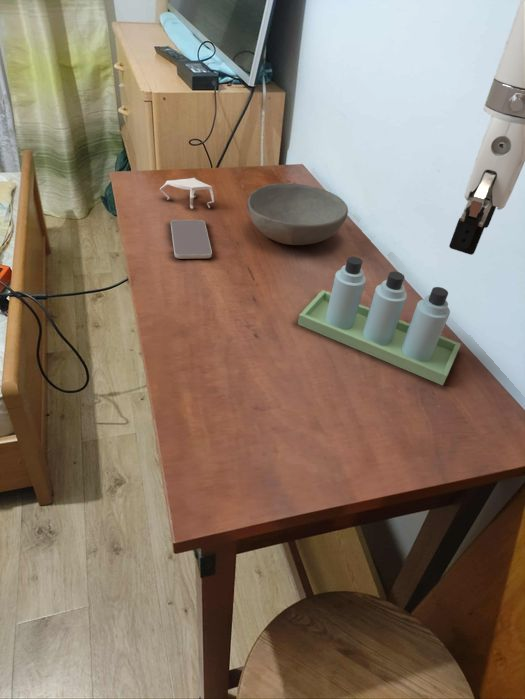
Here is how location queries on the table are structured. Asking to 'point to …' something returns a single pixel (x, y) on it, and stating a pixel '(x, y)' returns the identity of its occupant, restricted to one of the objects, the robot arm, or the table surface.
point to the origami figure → (189, 188)
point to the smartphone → (190, 239)
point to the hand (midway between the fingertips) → (469, 236)
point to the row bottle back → (346, 294)
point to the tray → (390, 353)
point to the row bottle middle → (385, 309)
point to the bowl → (296, 213)
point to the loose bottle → (426, 325)
